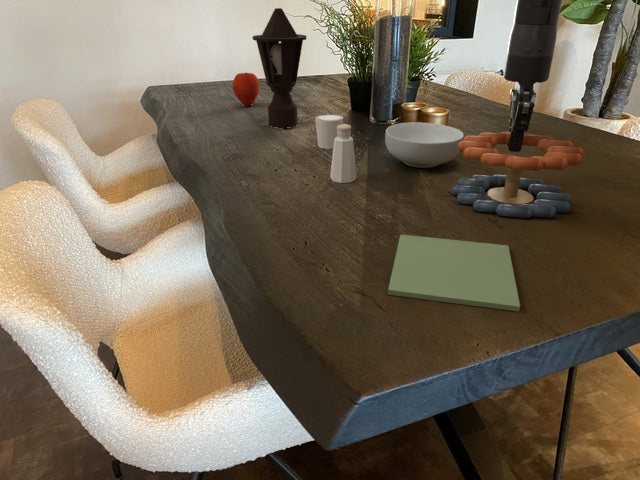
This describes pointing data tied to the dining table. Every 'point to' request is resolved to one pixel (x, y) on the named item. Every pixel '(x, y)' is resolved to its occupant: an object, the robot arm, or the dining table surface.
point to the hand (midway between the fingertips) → (513, 148)
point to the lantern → (280, 67)
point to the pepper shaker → (343, 156)
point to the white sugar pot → (327, 129)
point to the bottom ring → (544, 206)
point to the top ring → (554, 159)
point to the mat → (454, 272)
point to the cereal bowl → (423, 143)
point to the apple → (246, 87)
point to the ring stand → (511, 190)
